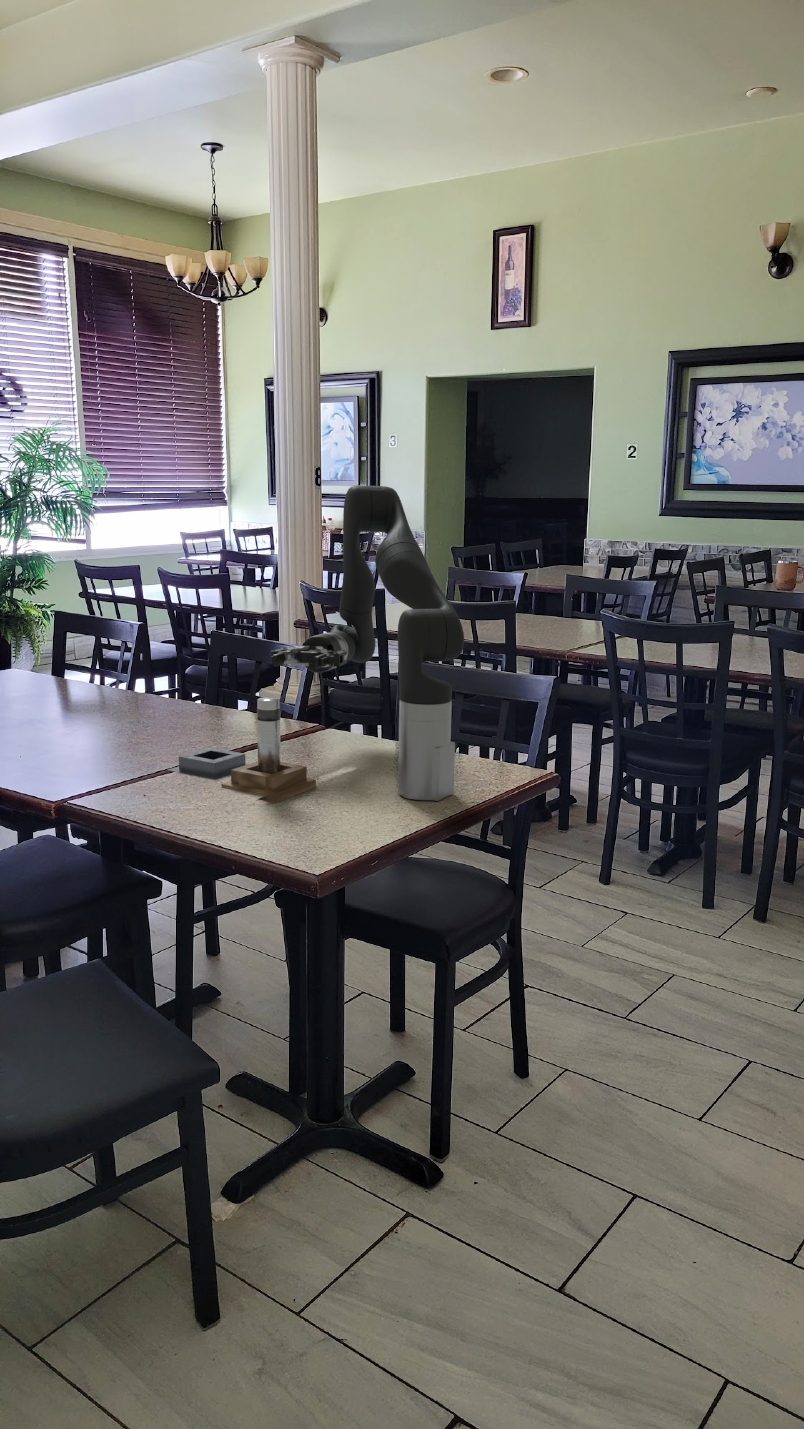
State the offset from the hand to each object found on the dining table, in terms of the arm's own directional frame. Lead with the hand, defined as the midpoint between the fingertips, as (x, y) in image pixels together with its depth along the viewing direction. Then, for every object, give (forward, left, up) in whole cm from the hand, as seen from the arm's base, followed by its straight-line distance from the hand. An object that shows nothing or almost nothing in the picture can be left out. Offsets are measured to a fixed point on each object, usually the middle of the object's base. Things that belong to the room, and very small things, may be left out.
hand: (295, 661), depth 197 cm
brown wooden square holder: (-4, +14, -21) cm, 26 cm away
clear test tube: (-4, +14, -20) cm, 24 cm away
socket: (+12, +11, -21) cm, 26 cm away
